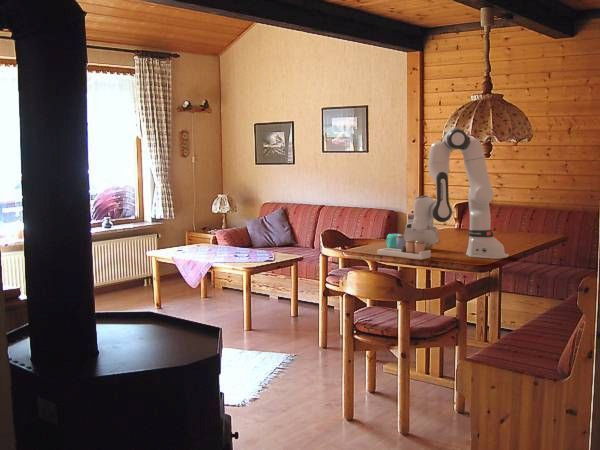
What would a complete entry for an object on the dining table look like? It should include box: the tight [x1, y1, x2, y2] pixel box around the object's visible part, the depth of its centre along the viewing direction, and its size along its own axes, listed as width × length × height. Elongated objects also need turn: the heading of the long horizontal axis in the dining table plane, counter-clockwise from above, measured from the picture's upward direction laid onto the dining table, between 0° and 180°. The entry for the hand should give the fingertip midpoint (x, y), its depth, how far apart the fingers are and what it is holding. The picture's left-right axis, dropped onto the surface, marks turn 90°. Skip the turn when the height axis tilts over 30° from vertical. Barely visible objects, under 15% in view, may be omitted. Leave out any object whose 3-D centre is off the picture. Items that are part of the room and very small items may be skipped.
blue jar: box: [396, 234, 406, 249], centre depth 402 cm, size 5×5×9 cm
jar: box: [406, 240, 416, 254], centre depth 381 cm, size 5×5×9 cm
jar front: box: [414, 241, 425, 254], centre depth 377 cm, size 5×5×9 cm
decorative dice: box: [386, 233, 402, 249], centre depth 414 cm, size 8×8×8 cm
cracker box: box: [407, 212, 434, 251], centre depth 409 cm, size 14×6×21 cm, turn 70°
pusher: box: [401, 245, 406, 253], centre depth 385 cm, size 2×11×6 cm, turn 137°
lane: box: [376, 247, 432, 260], centre depth 384 cm, size 29×9×4 cm, turn 47°
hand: (421, 250), depth 384 cm, fingers closed
